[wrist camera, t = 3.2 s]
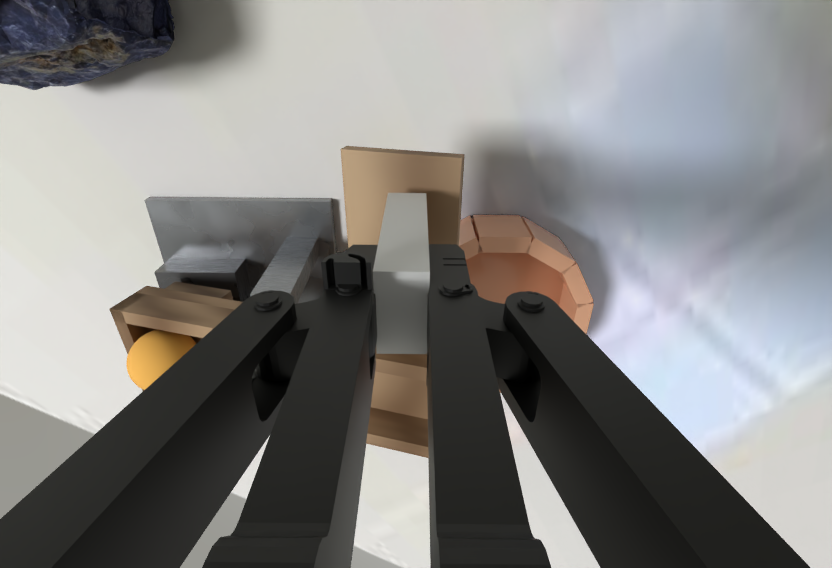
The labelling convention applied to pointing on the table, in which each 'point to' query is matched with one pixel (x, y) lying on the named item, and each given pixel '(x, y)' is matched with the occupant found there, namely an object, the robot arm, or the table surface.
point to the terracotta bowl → (523, 263)
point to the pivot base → (244, 243)
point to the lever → (364, 204)
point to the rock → (78, 38)
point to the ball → (155, 355)
